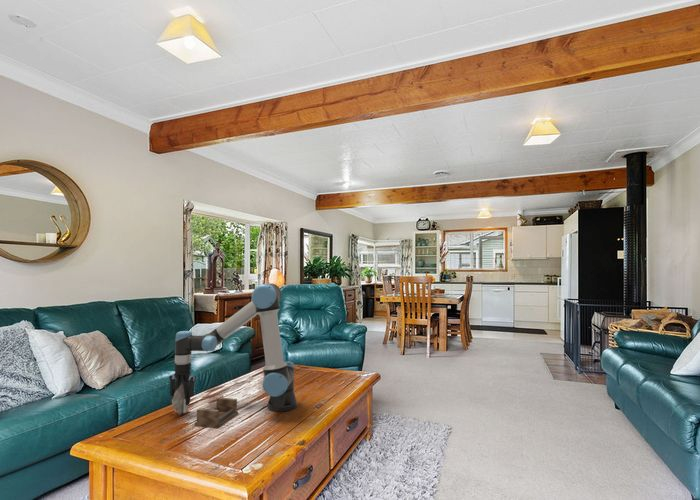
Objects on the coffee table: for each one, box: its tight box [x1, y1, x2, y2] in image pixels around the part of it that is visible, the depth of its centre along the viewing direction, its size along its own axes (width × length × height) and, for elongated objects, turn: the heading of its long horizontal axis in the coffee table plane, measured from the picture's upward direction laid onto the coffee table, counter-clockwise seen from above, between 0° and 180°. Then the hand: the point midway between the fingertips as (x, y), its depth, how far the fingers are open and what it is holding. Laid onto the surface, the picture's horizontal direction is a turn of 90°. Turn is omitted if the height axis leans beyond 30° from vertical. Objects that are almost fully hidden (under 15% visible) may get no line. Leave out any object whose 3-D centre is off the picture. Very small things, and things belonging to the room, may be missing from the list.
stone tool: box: [171, 383, 185, 416], centre depth 188 cm, size 11×4×15 cm, turn 155°
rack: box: [194, 397, 239, 429], centre depth 181 cm, size 12×18×7 cm, turn 167°
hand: (181, 411), depth 188 cm, fingers closed on stone tool, 4 cm apart
